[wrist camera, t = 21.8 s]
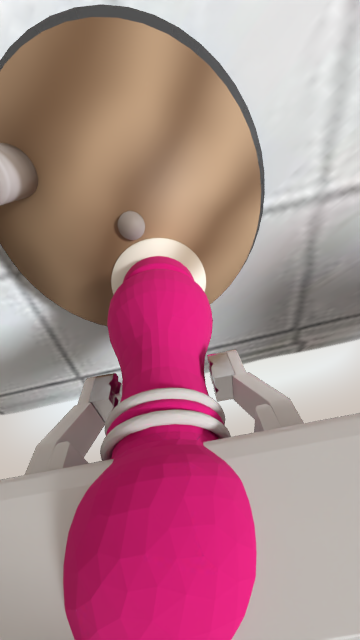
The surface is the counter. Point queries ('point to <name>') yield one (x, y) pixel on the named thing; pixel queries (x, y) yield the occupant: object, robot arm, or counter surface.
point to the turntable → (121, 163)
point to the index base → (159, 25)
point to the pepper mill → (161, 482)
